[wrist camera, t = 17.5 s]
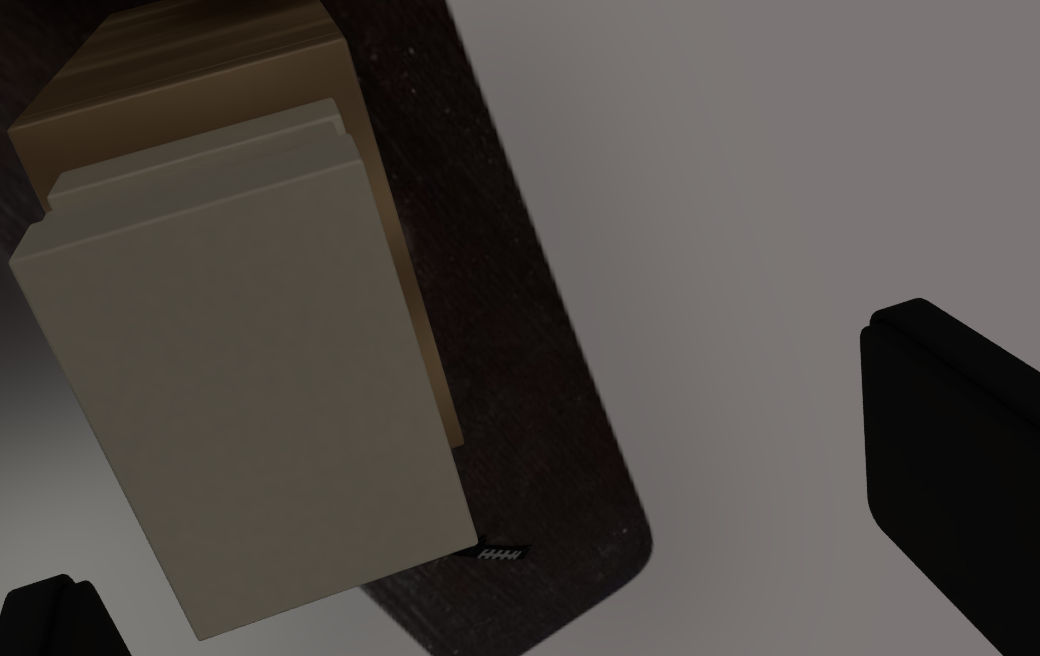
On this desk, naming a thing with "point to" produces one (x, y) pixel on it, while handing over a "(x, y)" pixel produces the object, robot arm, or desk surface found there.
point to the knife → (493, 551)
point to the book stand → (211, 105)
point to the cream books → (194, 156)
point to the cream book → (253, 381)
